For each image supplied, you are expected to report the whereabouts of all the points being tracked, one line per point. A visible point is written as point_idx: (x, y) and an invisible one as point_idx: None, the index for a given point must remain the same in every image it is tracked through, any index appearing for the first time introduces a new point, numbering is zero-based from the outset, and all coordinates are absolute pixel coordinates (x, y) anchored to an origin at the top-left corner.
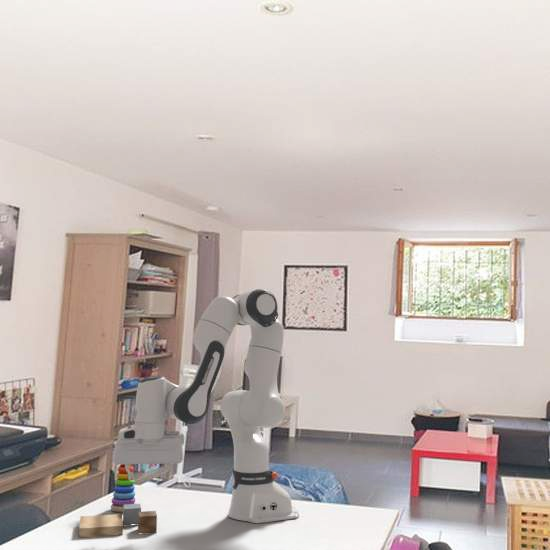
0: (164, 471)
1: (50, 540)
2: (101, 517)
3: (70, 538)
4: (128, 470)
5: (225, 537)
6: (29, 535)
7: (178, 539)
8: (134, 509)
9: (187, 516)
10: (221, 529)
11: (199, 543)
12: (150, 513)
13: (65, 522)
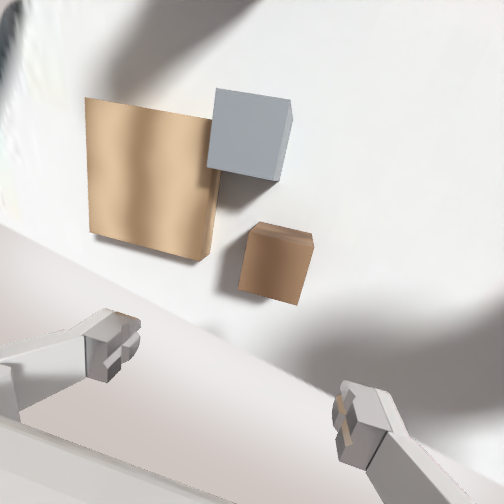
0: (386, 461)
1: (52, 218)
2: (147, 140)
3: None
4: (37, 399)
5: (459, 402)
6: (2, 155)
7: (332, 353)
8: (247, 175)
9: (492, 144)
10: (501, 343)
11: None
12: (284, 272)
13: (65, 52)
